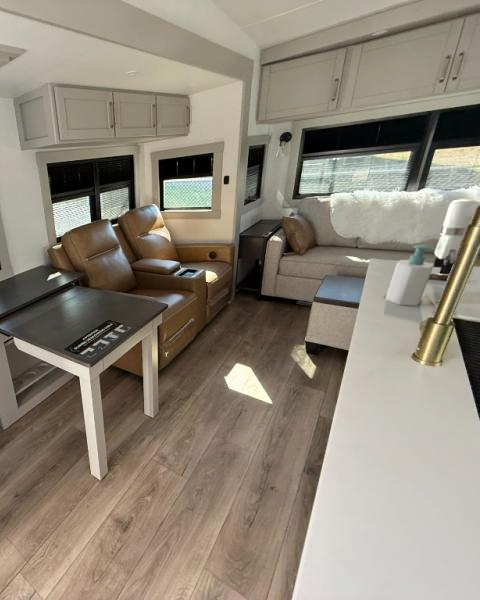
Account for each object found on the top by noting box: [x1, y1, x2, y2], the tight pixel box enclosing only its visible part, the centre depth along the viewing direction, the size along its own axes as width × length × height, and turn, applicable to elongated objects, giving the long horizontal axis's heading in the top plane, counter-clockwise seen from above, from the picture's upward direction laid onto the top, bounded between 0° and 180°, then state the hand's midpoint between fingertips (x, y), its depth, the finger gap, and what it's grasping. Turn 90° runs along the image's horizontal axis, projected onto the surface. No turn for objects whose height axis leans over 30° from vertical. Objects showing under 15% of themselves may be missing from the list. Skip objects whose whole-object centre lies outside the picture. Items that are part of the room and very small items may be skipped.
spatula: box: [428, 273, 450, 282], centre depth 140 cm, size 18×6×3 cm, turn 56°
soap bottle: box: [385, 244, 436, 307], centre depth 120 cm, size 10×9×22 cm
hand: (441, 270), depth 137 cm, fingers open, 9 cm apart
